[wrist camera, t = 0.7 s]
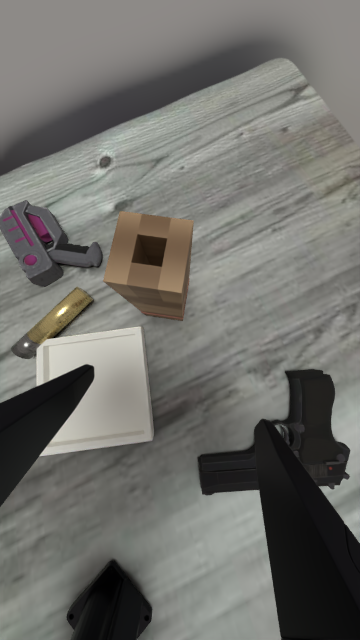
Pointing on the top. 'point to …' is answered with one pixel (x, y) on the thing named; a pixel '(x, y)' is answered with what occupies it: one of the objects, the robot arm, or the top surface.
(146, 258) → the brown tall hollow block
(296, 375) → the handgun
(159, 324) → the top surface
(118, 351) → the tray
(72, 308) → the bullet cartridge
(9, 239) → the toy gun
